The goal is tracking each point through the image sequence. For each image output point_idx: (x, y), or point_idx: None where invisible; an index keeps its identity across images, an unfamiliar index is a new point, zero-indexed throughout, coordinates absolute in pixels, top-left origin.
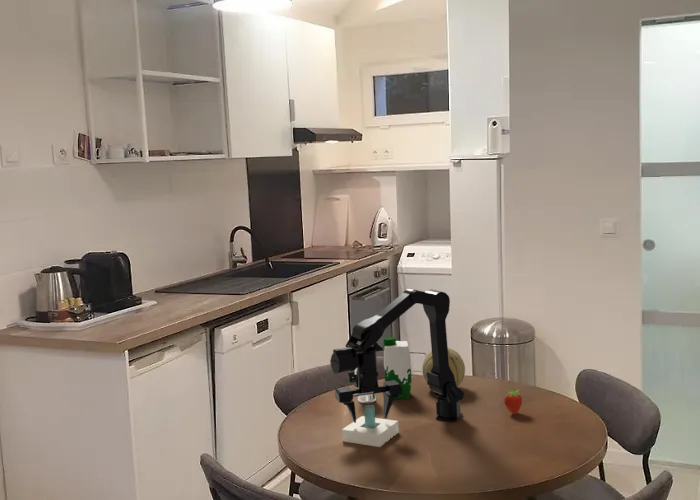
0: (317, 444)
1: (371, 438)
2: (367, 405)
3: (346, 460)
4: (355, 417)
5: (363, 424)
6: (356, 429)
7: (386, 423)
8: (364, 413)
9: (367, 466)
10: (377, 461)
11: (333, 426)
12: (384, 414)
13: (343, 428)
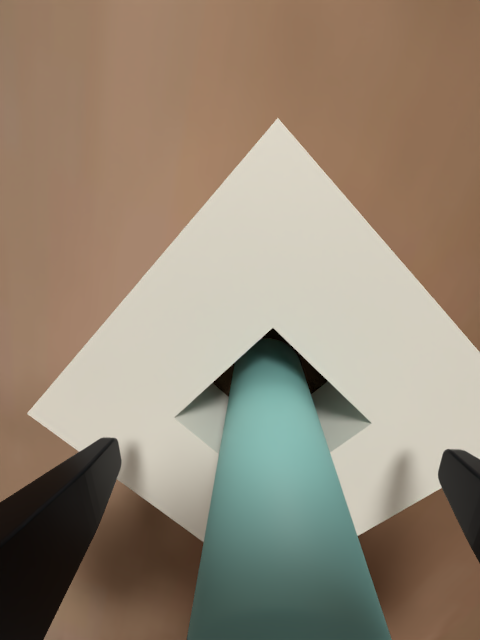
0: None
1: None
2: (280, 616)
3: (88, 561)
4: (82, 548)
5: (222, 372)
6: (140, 458)
7: (415, 440)
8: (207, 520)
9: (161, 624)
10: None
11: (29, 10)
12: (467, 498)
13: (39, 400)
